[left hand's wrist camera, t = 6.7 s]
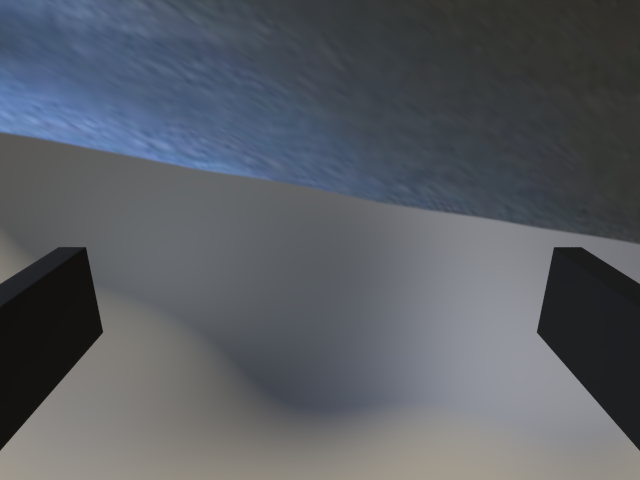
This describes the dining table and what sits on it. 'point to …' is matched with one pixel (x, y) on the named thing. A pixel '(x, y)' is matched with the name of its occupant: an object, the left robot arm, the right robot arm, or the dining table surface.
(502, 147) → the dining table surface
